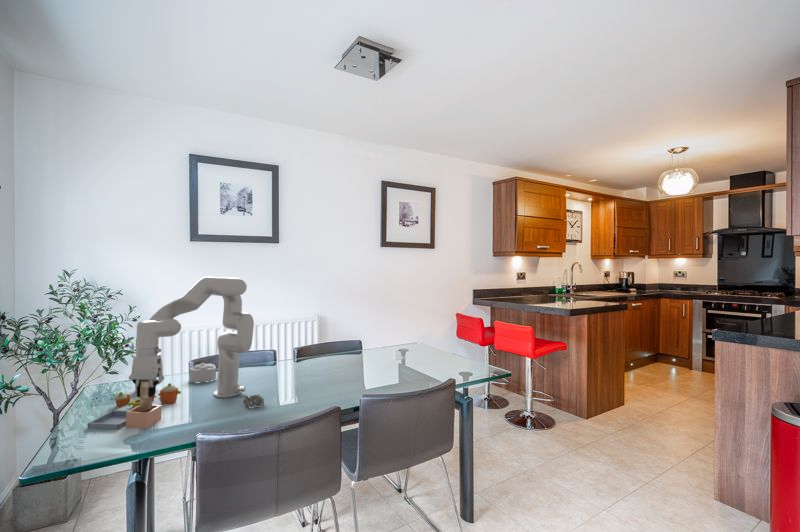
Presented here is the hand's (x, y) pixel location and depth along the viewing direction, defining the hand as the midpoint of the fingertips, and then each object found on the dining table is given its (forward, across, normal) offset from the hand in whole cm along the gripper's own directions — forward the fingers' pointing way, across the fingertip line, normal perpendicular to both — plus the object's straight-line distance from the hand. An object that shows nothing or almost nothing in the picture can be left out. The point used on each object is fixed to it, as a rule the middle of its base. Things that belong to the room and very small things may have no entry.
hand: (146, 395), depth 152 cm
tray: (+12, +12, 0) cm, 17 cm away
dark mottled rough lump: (+13, -34, -26) cm, 45 cm away
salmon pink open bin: (+12, 0, 0) cm, 12 cm away
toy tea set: (+13, +13, -22) cm, 28 cm away
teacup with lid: (+13, +24, -38) cm, 47 cm away
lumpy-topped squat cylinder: (+13, +6, -57) cm, 59 cm away
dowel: (+7, 0, 0) cm, 7 cm away
